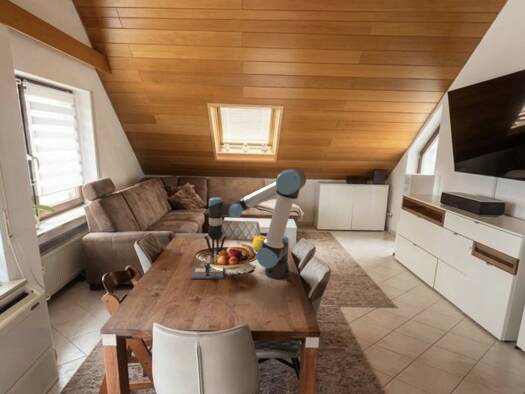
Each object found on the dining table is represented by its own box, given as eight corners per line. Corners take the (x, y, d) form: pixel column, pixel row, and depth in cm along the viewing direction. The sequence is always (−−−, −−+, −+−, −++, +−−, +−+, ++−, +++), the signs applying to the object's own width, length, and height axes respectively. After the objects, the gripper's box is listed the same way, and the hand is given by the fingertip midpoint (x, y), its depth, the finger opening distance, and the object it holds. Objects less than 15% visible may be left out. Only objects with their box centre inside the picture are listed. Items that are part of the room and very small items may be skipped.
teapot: (275, 252, 216) (276, 237, 214) (263, 256, 209) (264, 241, 207) (259, 245, 229) (259, 231, 227) (247, 248, 222) (247, 234, 220)
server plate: (224, 268, 188) (224, 259, 187) (223, 278, 174) (222, 269, 173) (194, 268, 186) (194, 260, 185) (190, 278, 173) (190, 269, 172)
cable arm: (211, 259, 186) (211, 255, 186) (209, 268, 173) (209, 265, 172) (206, 259, 186) (206, 256, 185) (204, 268, 173) (204, 265, 172)
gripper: (227, 222, 182) (226, 259, 187) (204, 222, 181) (205, 259, 186) (226, 226, 175) (226, 264, 179) (203, 225, 174) (203, 265, 178)
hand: (215, 262), depth 182 cm, fingers closed
